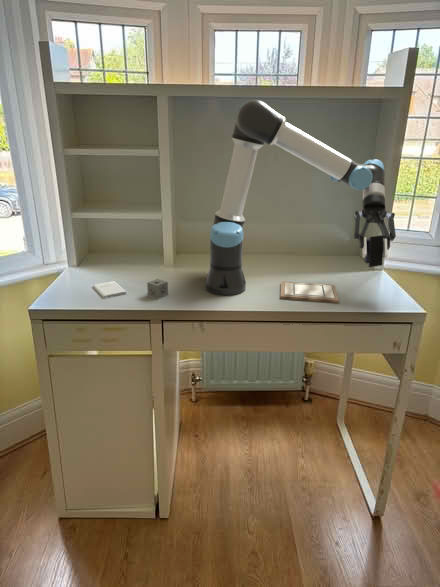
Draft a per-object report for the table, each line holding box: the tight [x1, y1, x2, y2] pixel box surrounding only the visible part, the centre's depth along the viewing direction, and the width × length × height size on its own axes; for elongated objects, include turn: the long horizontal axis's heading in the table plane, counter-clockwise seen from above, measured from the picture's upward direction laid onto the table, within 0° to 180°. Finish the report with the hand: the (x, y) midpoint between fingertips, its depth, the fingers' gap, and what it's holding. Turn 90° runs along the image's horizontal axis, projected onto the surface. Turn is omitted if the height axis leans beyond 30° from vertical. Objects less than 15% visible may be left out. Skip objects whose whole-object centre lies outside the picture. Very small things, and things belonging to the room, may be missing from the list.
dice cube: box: [146, 278, 169, 300], centre depth 147 cm, size 5×5×5 cm
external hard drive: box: [92, 280, 127, 299], centre depth 151 cm, size 2×8×12 cm
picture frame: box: [279, 280, 340, 304], centre depth 152 cm, size 20×15×1 cm
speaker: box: [363, 234, 384, 268], centre depth 143 cm, size 8×6×10 cm
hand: (374, 256), depth 141 cm, fingers closed on speaker, 6 cm apart
